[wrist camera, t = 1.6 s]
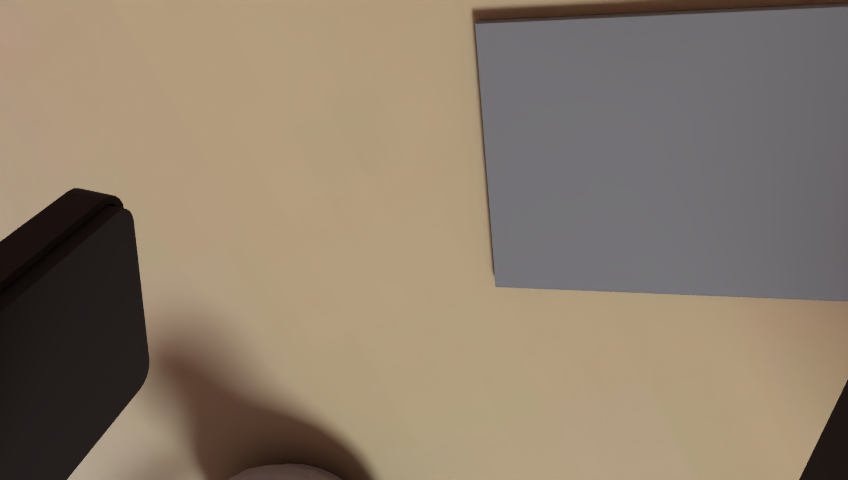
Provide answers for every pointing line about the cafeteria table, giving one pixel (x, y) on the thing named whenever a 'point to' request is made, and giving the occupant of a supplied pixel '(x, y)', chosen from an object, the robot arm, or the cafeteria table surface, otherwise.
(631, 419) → the cafeteria table surface
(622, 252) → the mat
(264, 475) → the coffee pot
